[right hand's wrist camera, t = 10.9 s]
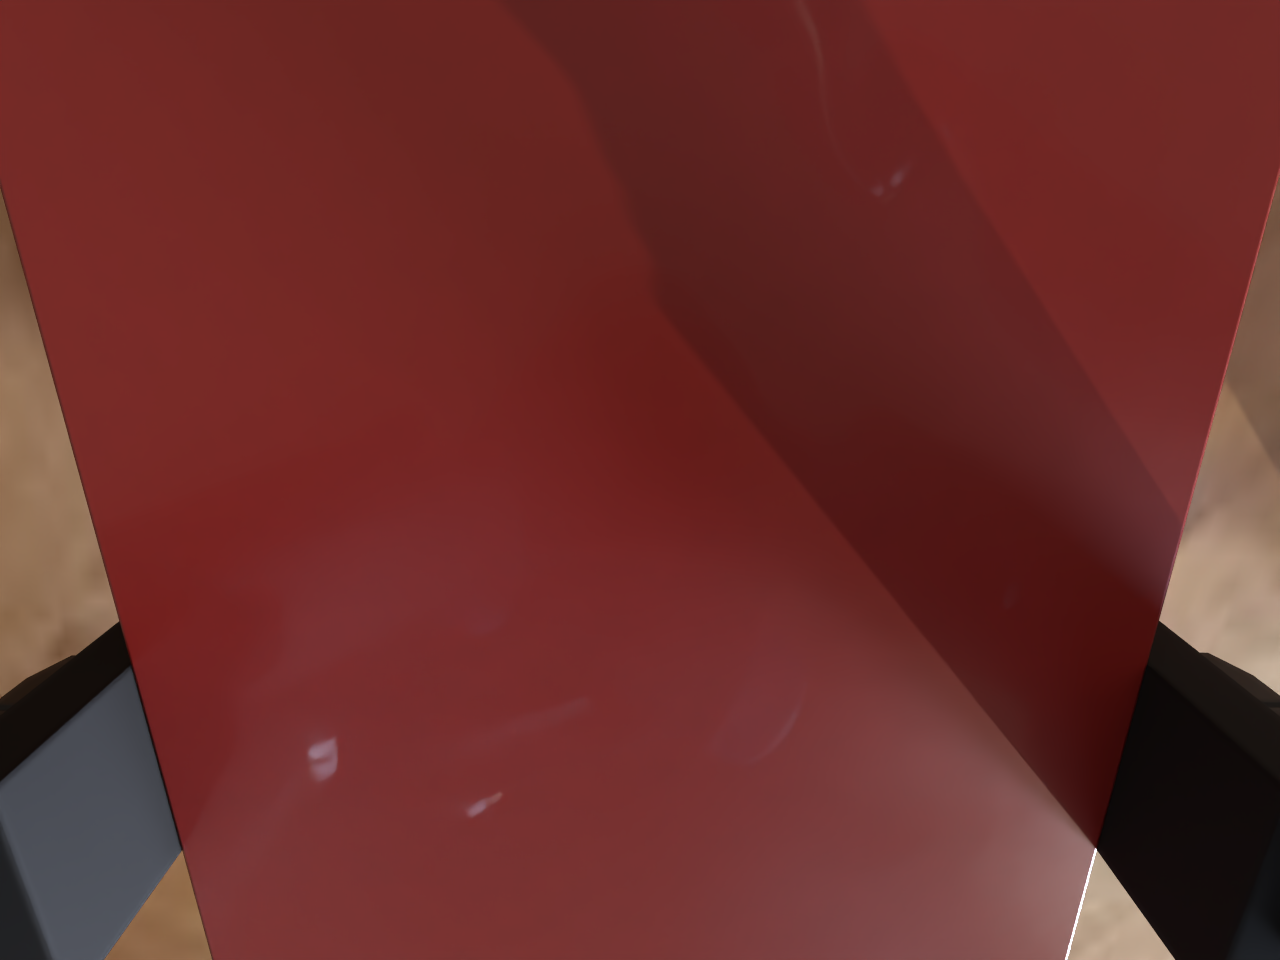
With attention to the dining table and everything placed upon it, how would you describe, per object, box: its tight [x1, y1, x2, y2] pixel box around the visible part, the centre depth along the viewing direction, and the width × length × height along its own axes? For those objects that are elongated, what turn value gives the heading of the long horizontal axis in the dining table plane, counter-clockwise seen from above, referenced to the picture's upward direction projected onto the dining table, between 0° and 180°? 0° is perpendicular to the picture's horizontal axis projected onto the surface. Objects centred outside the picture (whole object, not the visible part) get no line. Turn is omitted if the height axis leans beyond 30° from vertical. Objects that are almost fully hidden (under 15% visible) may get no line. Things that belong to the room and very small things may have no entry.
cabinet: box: [0, 0, 1280, 960], centre depth 13 cm, size 17×12×12 cm
